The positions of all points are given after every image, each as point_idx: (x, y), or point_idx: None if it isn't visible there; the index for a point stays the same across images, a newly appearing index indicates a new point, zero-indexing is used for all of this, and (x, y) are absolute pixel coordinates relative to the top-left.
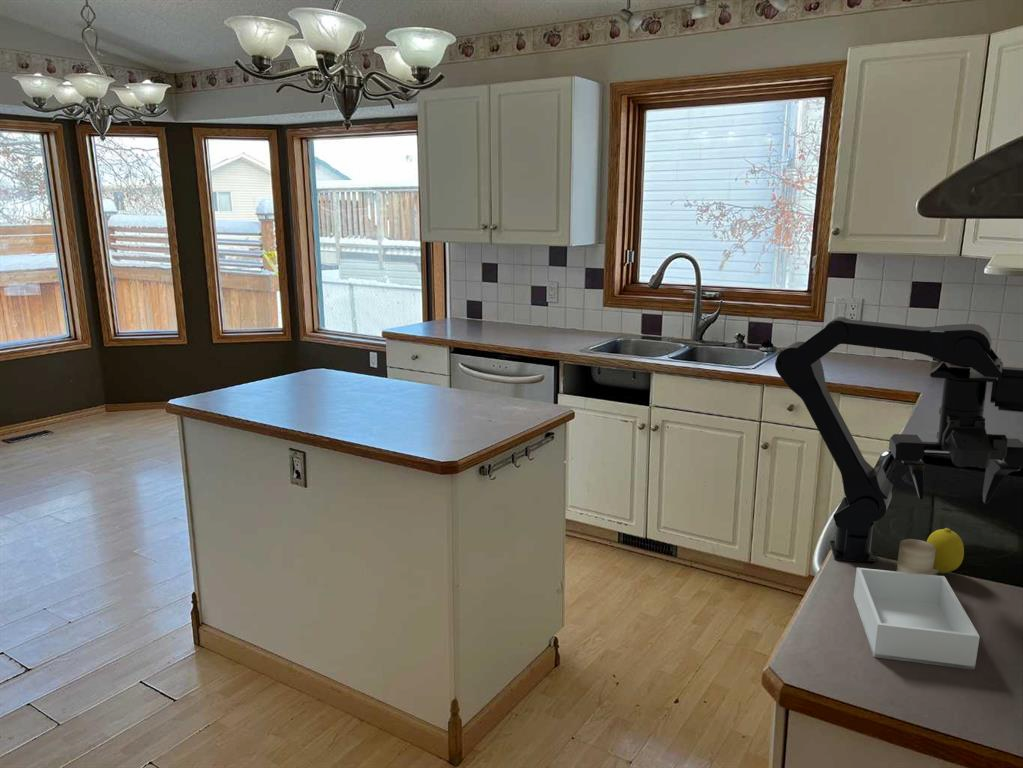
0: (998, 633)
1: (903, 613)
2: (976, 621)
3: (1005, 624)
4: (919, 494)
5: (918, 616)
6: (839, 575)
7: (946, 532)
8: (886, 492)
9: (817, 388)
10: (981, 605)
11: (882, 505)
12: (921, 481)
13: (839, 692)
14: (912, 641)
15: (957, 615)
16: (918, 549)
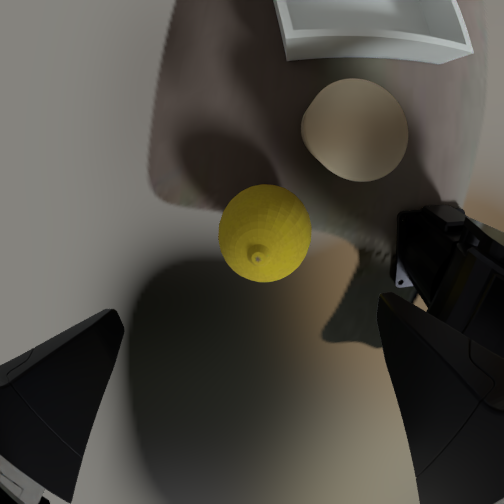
0: (194, 13)
1: (358, 6)
2: (224, 32)
3: (176, 46)
4: (407, 301)
5: (331, 2)
6: (460, 144)
7: (262, 243)
8: (487, 315)
9: None
10: (206, 96)
11: (488, 256)
12: (448, 347)
13: None
14: None
15: None
16: (360, 105)
